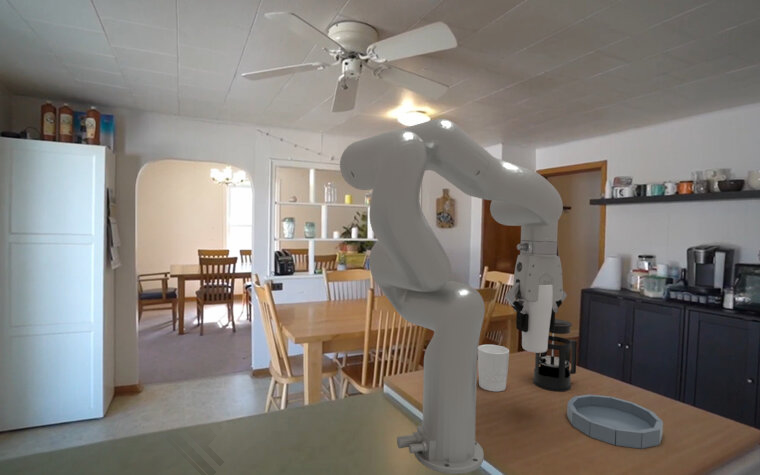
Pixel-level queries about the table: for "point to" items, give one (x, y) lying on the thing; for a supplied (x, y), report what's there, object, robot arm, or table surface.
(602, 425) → the bowl
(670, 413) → the table surface
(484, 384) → the white cup
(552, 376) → the french press
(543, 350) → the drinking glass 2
